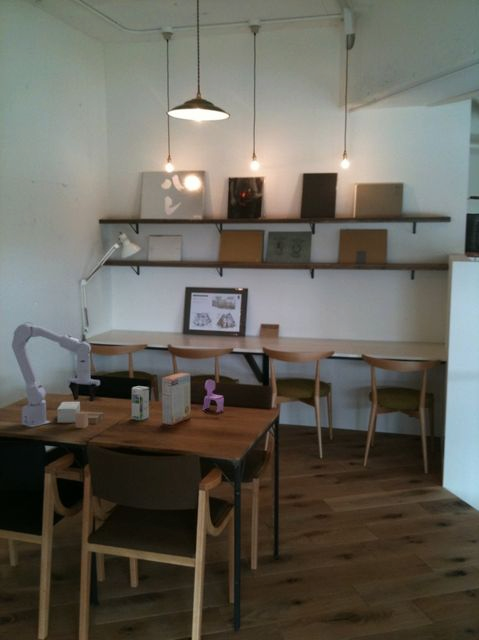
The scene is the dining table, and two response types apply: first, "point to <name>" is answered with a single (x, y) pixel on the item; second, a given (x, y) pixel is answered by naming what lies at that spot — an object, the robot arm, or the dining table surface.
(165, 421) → the cracker box
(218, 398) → the toy chair
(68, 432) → the dining table surface
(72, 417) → the small box
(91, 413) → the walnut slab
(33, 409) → the robot arm
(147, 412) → the syrup box
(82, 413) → the terracotta block
